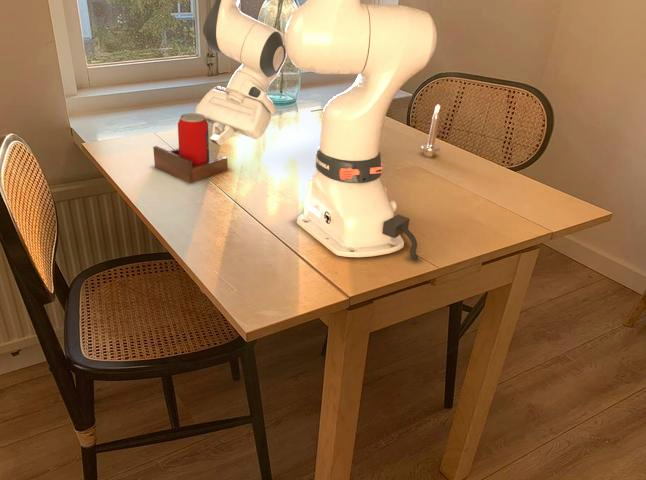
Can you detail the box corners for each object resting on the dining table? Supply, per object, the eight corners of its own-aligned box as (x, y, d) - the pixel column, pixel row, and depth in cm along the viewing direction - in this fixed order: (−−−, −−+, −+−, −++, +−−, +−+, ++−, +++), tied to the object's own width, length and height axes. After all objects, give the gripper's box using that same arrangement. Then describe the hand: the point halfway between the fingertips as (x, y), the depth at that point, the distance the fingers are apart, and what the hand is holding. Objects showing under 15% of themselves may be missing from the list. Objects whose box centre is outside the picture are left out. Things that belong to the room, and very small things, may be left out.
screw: (442, 155, 150) (430, 159, 147) (427, 150, 153) (415, 154, 150) (452, 105, 143) (440, 108, 140) (436, 100, 146) (424, 103, 143)
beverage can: (215, 167, 136) (214, 116, 130) (195, 175, 132) (193, 123, 125) (193, 160, 139) (191, 110, 133) (173, 168, 135) (170, 116, 128)
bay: (192, 155, 142) (191, 135, 139) (227, 170, 135) (227, 149, 133) (154, 167, 135) (153, 146, 132) (190, 183, 128) (188, 161, 125)
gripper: (207, 77, 141) (178, 125, 140) (269, 94, 130) (238, 146, 129) (221, 92, 147) (193, 138, 146) (281, 110, 136) (252, 161, 135)
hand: (214, 142), depth 138 cm, fingers closed
